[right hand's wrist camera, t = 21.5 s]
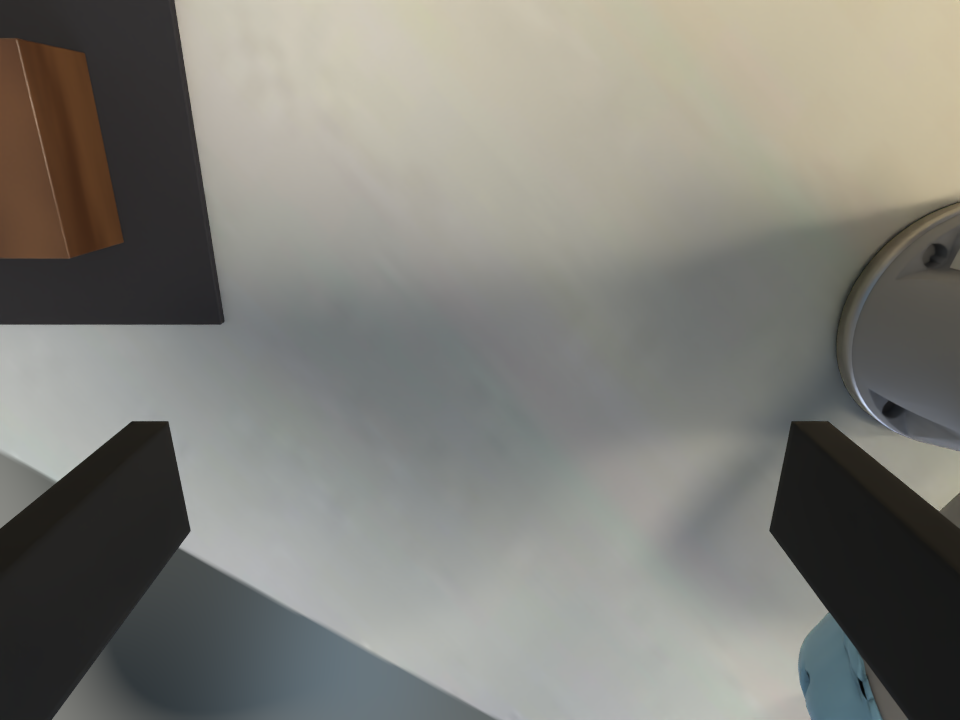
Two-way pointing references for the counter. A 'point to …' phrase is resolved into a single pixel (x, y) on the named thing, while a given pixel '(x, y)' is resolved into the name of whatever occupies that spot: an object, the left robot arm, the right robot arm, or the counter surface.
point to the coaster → (125, 175)
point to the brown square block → (51, 156)
